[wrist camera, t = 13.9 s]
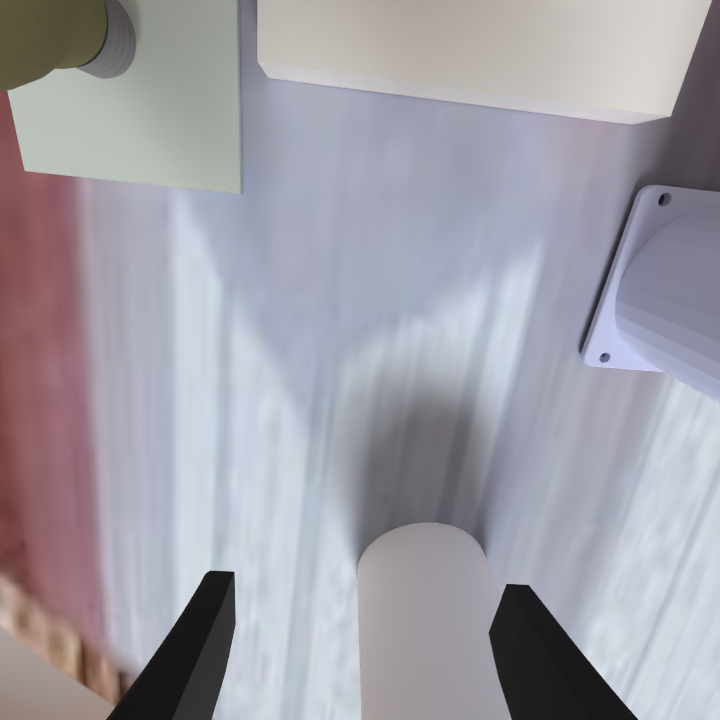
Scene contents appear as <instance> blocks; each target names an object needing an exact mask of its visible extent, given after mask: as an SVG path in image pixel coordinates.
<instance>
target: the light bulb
mask: <svg viewBox="0 0 720 720" xmlns="http://www.w3.org/2000/svg"><path fill="white" fill-rule="evenodd" d="M135 51H136V37H135V31H134V28H133V24H132V22H131V20H130V17H129V15H128V14H127V12H126V10H125V9H124V7H123V6H122V5H121V3H120V2H119V1H118V0H0V91H5V90H12V89H15V88H18V87H20V86H23V85H25V84H28V83H31V82H33V81H36V80H38V79H41V78H43V77H45V76H46V75H47V74H49V73H50V72H51V71H53V70H54V69H69V68H77V69H79V70H81V71H84V72H86V73H88V74H90V75H93V76H95V77H98V78H103V79H109V78H114V77H117V76H119V75H122V74H123V73H124V72H126V70H127V69H128V68H129V67H130V65H131V63H132V61H133V59H134V56H135Z"/></svg>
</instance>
